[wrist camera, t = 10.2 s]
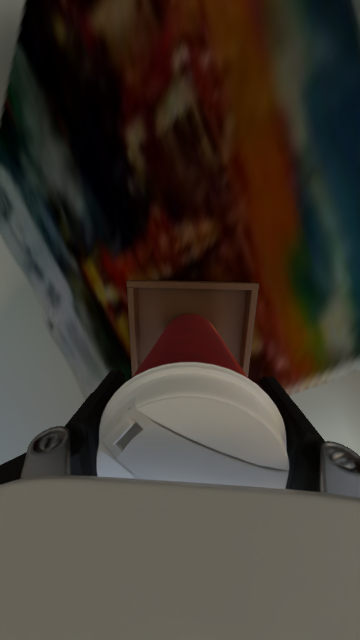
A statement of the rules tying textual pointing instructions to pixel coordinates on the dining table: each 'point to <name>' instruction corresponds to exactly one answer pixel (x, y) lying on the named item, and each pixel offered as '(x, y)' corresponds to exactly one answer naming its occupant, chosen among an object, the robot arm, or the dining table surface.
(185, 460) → the paper cup
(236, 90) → the dining table surface
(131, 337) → the tray
